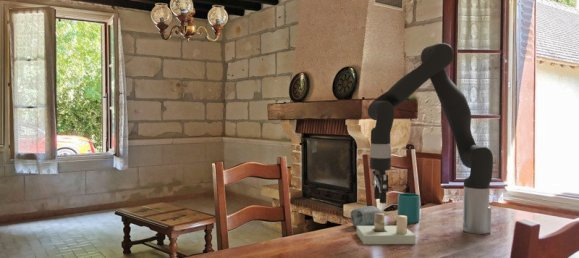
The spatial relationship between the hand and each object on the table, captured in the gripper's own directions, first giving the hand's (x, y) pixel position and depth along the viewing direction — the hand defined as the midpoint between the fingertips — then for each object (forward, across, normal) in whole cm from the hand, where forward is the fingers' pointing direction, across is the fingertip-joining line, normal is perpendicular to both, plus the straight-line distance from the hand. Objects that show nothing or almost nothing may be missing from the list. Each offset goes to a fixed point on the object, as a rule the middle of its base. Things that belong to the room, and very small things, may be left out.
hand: (380, 200), depth 168 cm
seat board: (+14, 0, -2) cm, 14 cm away
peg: (+14, 0, 0) cm, 14 cm away
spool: (+14, +18, +1) cm, 23 cm away
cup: (+14, +28, -20) cm, 37 cm away
